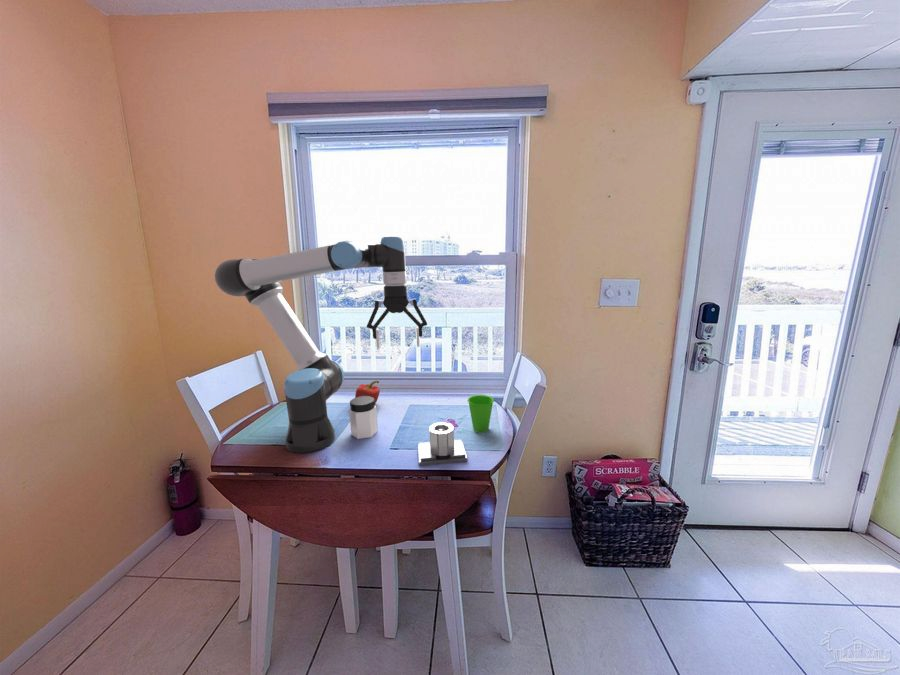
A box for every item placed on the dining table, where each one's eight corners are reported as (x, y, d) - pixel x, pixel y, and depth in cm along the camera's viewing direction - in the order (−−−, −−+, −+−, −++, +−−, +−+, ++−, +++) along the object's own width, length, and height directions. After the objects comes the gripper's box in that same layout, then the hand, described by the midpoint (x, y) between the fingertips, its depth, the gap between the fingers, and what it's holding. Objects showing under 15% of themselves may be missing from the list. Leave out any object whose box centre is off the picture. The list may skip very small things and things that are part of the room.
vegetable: (375, 398, 150) (373, 376, 148) (386, 405, 142) (385, 382, 140) (351, 405, 144) (349, 382, 141) (362, 413, 136) (360, 389, 133)
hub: (431, 456, 100) (430, 434, 99) (429, 444, 107) (429, 423, 106) (455, 454, 101) (454, 432, 100) (452, 442, 108) (451, 421, 106)
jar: (382, 433, 119) (379, 400, 117) (360, 441, 114) (357, 407, 111) (368, 424, 126) (366, 393, 123) (347, 432, 120) (344, 400, 118)
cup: (496, 434, 116) (496, 404, 114) (469, 436, 116) (468, 405, 113) (491, 422, 125) (491, 394, 123) (466, 424, 125) (466, 395, 122)
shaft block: (419, 465, 99) (418, 439, 98) (418, 447, 109) (417, 423, 107) (467, 461, 101) (467, 435, 99) (462, 444, 111) (461, 420, 109)
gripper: (355, 286, 110) (360, 351, 115) (433, 284, 113) (435, 347, 118) (358, 285, 118) (363, 346, 122) (431, 283, 120) (433, 342, 125)
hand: (398, 347), depth 120 cm, fingers open, 13 cm apart
